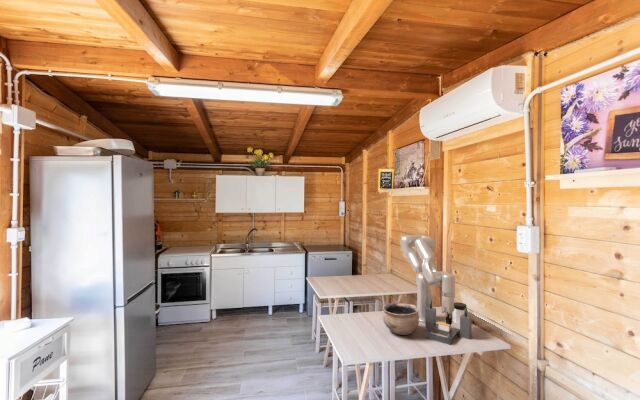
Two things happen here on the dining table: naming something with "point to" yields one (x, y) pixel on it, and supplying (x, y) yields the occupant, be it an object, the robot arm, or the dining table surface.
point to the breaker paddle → (444, 326)
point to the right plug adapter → (465, 325)
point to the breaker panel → (443, 334)
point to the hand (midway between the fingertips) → (448, 324)
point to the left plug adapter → (430, 316)
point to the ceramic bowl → (401, 317)
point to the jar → (458, 312)
